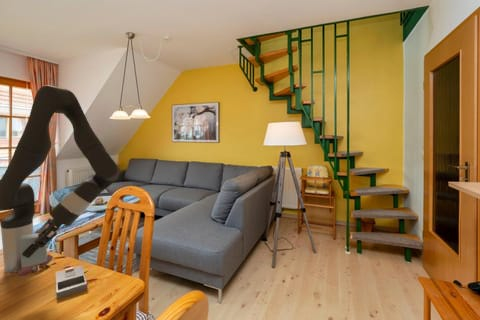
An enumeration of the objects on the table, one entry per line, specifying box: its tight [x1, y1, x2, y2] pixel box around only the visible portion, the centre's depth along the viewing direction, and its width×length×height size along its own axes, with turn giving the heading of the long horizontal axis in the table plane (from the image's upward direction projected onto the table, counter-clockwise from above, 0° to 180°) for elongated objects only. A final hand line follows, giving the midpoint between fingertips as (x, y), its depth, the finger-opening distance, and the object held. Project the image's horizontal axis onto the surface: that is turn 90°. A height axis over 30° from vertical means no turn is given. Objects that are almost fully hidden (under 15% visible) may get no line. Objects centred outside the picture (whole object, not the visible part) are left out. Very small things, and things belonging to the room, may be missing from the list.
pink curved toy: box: [18, 253, 54, 277], centre depth 94 cm, size 10×5×7 cm, turn 169°
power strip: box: [55, 264, 88, 300], centre depth 83 cm, size 15×8×4 cm, turn 38°
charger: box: [20, 233, 48, 268], centre depth 76 cm, size 4×6×8 cm, turn 128°
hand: (25, 253), depth 75 cm, fingers closed on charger, 4 cm apart
